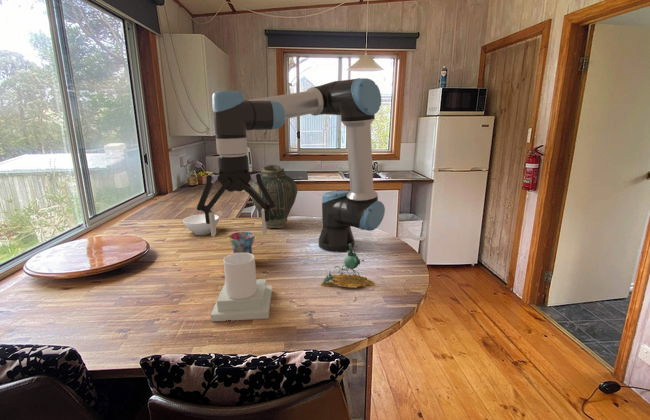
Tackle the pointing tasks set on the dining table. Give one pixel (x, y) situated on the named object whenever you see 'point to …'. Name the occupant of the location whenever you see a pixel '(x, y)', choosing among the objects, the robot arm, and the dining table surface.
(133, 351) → the dining table surface
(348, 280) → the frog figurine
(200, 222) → the bowl
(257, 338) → the dining table surface
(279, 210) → the vase
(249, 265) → the mug
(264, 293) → the plinth
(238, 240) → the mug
